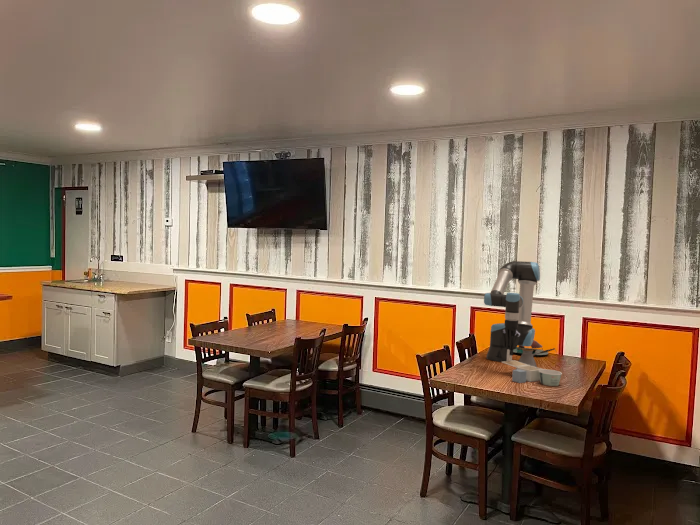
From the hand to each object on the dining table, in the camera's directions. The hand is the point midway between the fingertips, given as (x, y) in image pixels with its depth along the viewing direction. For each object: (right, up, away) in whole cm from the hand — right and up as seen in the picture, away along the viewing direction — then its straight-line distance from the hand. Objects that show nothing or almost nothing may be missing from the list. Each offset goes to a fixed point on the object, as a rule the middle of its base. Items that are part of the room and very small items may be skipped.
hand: (509, 360), depth 315 cm
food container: (+15, -9, -22) cm, 28 cm away
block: (-1, -8, -20) cm, 22 cm away
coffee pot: (+17, -8, +6) cm, 20 cm away
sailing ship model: (+32, -7, +66) cm, 73 cm away
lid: (+2, -1, -4) cm, 5 cm away
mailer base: (+8, -8, -13) cm, 17 cm away
